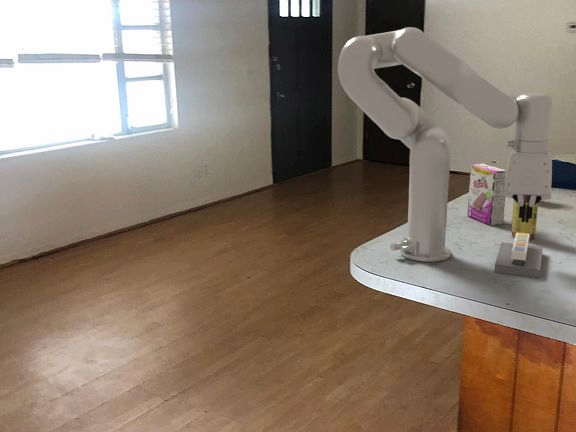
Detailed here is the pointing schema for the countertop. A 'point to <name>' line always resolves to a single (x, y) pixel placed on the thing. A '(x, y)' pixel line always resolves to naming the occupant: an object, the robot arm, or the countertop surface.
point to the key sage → (521, 240)
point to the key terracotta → (520, 245)
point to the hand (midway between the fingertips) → (525, 220)
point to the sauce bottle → (523, 226)
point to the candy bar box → (487, 194)
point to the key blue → (518, 255)
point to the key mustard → (522, 235)
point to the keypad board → (527, 269)
